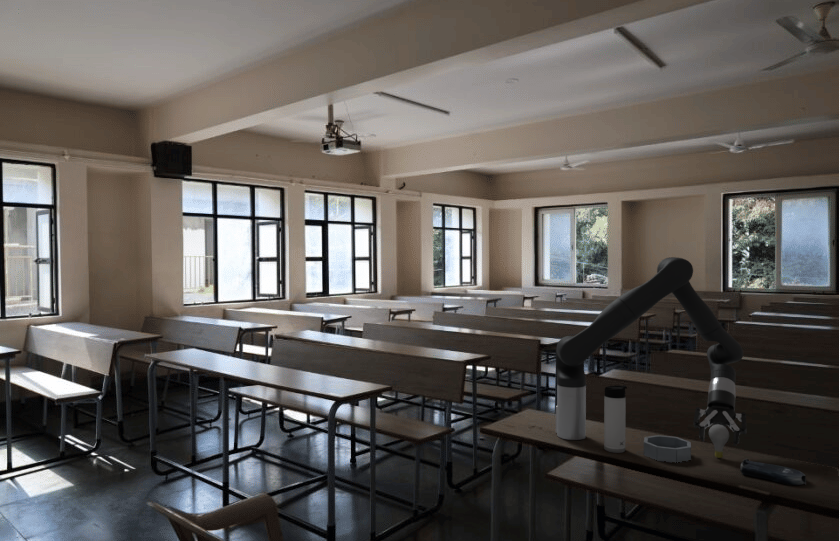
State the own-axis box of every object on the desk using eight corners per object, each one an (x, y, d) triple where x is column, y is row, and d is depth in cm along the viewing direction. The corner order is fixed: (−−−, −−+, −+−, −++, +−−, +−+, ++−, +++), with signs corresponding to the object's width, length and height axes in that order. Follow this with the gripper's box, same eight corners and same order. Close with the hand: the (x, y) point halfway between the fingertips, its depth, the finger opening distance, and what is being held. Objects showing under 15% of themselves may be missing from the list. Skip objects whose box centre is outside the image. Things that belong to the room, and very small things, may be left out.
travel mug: (627, 453, 184) (628, 388, 184) (605, 452, 185) (605, 387, 185) (625, 447, 190) (625, 383, 190) (603, 446, 191) (603, 383, 191)
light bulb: (710, 454, 183) (710, 421, 183) (730, 457, 180) (730, 424, 180) (706, 459, 179) (707, 425, 179) (727, 462, 176) (727, 428, 176)
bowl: (634, 451, 186) (634, 438, 186) (667, 446, 191) (667, 433, 191) (666, 464, 174) (666, 450, 174) (700, 459, 179) (700, 445, 179)
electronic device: (740, 482, 165) (804, 487, 155) (737, 461, 166) (801, 465, 156) (747, 477, 172) (809, 482, 162) (745, 457, 173) (806, 461, 163)
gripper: (695, 386, 189) (691, 432, 180) (747, 391, 182) (745, 439, 172) (697, 399, 194) (693, 445, 184) (748, 405, 187) (746, 452, 177)
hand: (718, 442), depth 178 cm, fingers open, 8 cm apart
